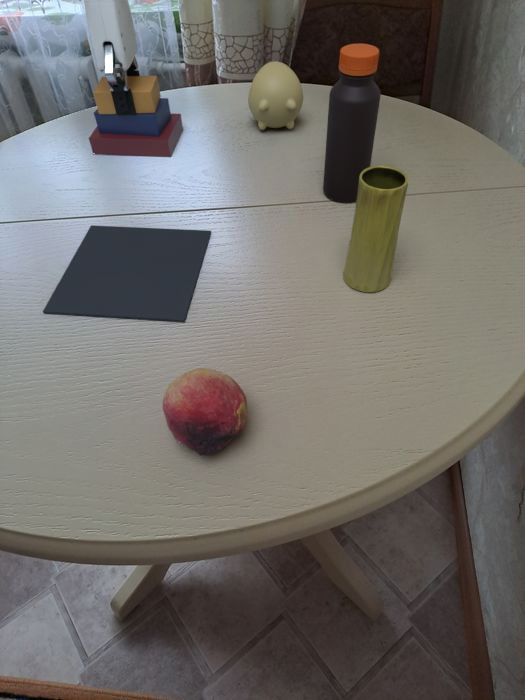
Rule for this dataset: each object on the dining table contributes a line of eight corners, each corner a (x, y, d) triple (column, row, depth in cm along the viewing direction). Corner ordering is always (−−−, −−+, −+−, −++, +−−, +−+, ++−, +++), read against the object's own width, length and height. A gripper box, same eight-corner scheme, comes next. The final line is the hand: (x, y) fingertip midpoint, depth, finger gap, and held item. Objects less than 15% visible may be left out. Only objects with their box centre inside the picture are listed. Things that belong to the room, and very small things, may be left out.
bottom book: (93, 154, 88) (88, 138, 86) (111, 127, 95) (106, 111, 92) (170, 157, 87) (167, 140, 84) (183, 129, 93) (180, 113, 91)
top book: (98, 114, 84) (92, 92, 81) (107, 97, 88) (101, 76, 85) (155, 113, 83) (151, 91, 81) (160, 96, 88) (157, 75, 85)
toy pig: (299, 141, 96) (298, 85, 96) (306, 112, 84) (305, 49, 84) (248, 141, 96) (247, 85, 96) (248, 113, 84) (247, 49, 84)
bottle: (373, 200, 76) (395, 56, 61) (330, 207, 75) (343, 63, 60) (357, 177, 81) (375, 38, 65) (317, 183, 80) (325, 43, 65)
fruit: (244, 397, 53) (239, 347, 47) (254, 461, 48) (250, 415, 42) (171, 407, 52) (156, 359, 46) (173, 473, 47) (158, 429, 41)
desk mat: (43, 313, 62) (42, 311, 62) (91, 227, 74) (91, 225, 74) (184, 322, 61) (184, 320, 60) (211, 232, 72) (211, 230, 72)
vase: (390, 295, 63) (413, 194, 52) (341, 291, 63) (354, 190, 52) (390, 264, 66) (411, 164, 56) (344, 260, 67) (356, 161, 56)
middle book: (99, 133, 87) (93, 112, 84) (114, 114, 91) (109, 94, 89) (159, 136, 85) (155, 116, 83) (171, 118, 90) (168, 97, 87)
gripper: (90, -37, 78) (118, 84, 91) (60, -4, 66) (97, 129, 80) (138, -38, 78) (159, 83, 91) (116, -6, 66) (143, 128, 80)
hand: (130, 103), depth 85 cm, fingers closed on top book, 6 cm apart
